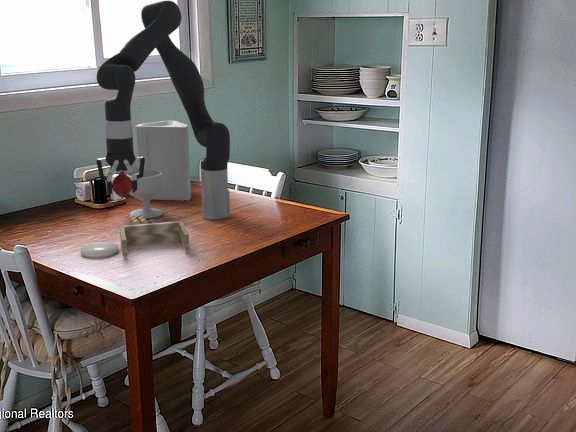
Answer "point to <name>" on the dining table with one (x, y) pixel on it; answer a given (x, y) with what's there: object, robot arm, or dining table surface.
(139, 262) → the dining table surface
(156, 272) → the dining table surface
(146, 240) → the wooden plank arch
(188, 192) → the tall white box
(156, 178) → the chalice
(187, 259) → the dining table surface
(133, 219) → the ammunition
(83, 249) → the white flat disc
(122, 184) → the onion
